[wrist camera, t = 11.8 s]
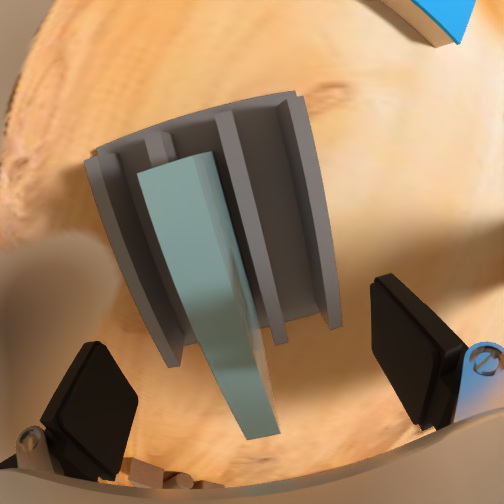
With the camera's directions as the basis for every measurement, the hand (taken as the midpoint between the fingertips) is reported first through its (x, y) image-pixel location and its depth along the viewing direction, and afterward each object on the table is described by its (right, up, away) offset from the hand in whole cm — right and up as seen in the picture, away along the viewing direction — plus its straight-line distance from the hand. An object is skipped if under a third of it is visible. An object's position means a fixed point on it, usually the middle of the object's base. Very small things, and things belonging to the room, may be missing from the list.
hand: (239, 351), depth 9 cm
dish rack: (-2, +5, +13) cm, 14 cm away
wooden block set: (-16, -39, +29) cm, 51 cm away
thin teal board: (-2, +5, +12) cm, 13 cm away
